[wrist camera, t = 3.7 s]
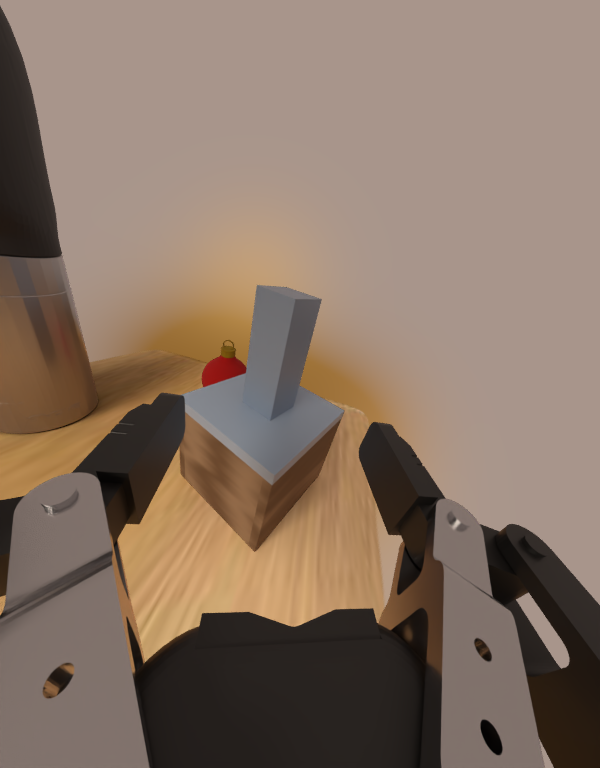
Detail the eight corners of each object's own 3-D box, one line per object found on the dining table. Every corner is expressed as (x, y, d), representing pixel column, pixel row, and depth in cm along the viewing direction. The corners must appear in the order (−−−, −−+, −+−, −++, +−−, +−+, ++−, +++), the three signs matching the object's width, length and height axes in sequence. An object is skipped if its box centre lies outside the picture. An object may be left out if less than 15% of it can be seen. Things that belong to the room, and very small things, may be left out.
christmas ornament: (193, 404, 34) (193, 342, 29) (211, 382, 40) (214, 327, 35) (240, 414, 34) (247, 354, 29) (251, 391, 40) (258, 338, 36)
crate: (180, 473, 24) (177, 405, 20) (255, 428, 32) (264, 373, 28) (254, 552, 19) (271, 485, 15) (318, 474, 28) (341, 418, 24)
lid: (178, 418, 20) (171, 266, 14) (262, 383, 29) (280, 278, 23) (268, 498, 16) (313, 324, 10) (337, 428, 24) (383, 312, 18)
